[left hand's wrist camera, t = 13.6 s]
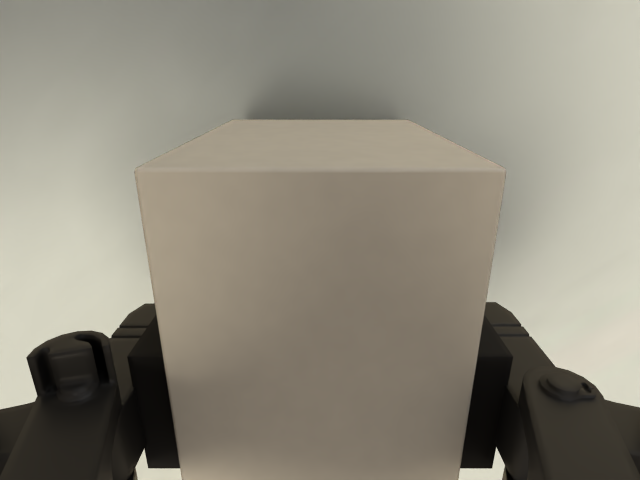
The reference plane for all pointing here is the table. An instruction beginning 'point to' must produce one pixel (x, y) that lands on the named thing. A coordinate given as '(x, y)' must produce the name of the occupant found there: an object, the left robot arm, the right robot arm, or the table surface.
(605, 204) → the table surface
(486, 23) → the table surface
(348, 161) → the beam
